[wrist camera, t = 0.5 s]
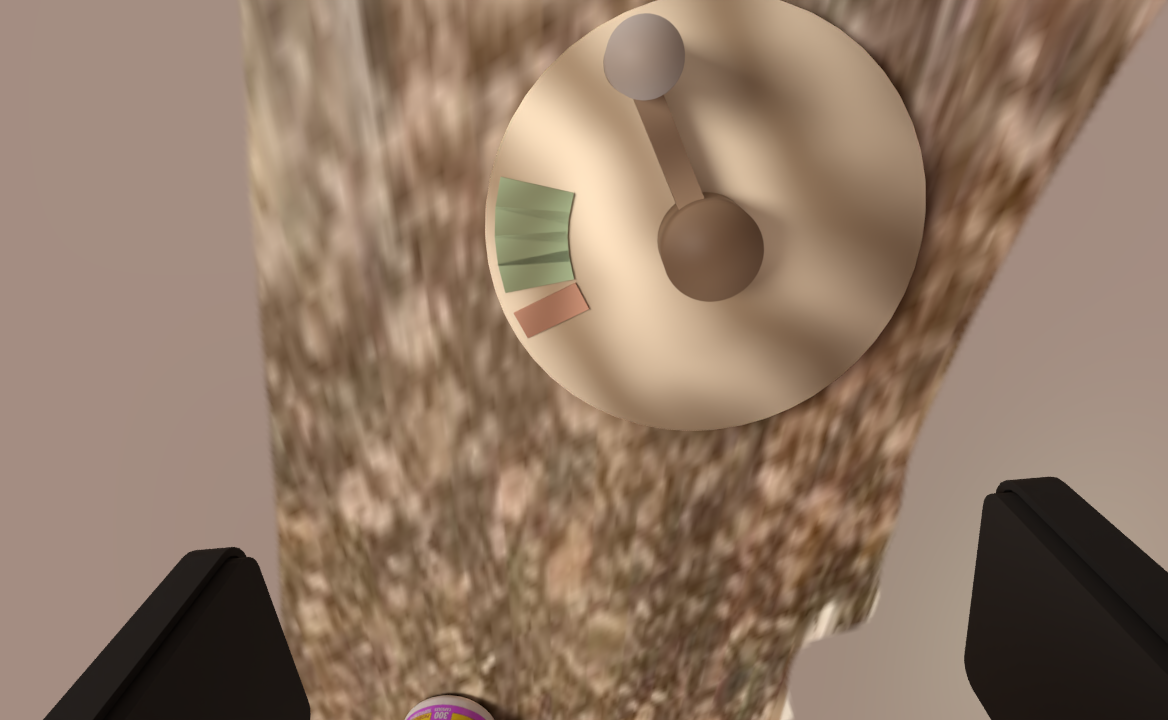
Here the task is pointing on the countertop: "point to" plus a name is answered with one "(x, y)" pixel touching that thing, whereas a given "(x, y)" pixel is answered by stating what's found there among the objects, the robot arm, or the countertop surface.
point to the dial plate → (721, 165)
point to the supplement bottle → (448, 709)
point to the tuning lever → (682, 169)
